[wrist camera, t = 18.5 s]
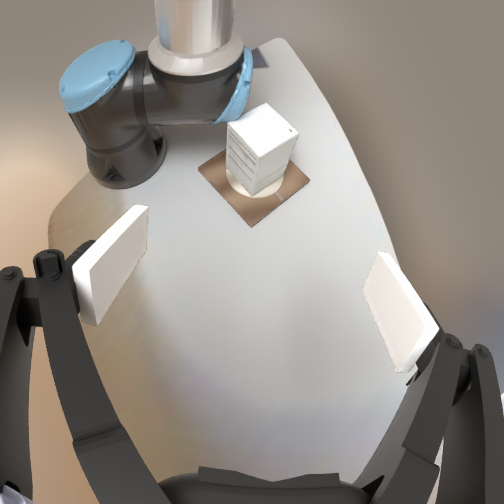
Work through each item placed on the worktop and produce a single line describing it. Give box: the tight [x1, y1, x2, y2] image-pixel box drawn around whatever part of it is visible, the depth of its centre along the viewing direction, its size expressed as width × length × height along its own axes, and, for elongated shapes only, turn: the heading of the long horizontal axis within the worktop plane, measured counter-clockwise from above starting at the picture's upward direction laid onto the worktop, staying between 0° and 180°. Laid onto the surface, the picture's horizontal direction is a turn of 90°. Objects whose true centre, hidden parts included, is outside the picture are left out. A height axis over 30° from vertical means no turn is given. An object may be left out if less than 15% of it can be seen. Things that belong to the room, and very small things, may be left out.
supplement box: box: [226, 103, 299, 197], centre depth 44 cm, size 7×7×13 cm
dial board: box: [198, 150, 310, 227], centre depth 50 cm, size 14×14×1 cm
